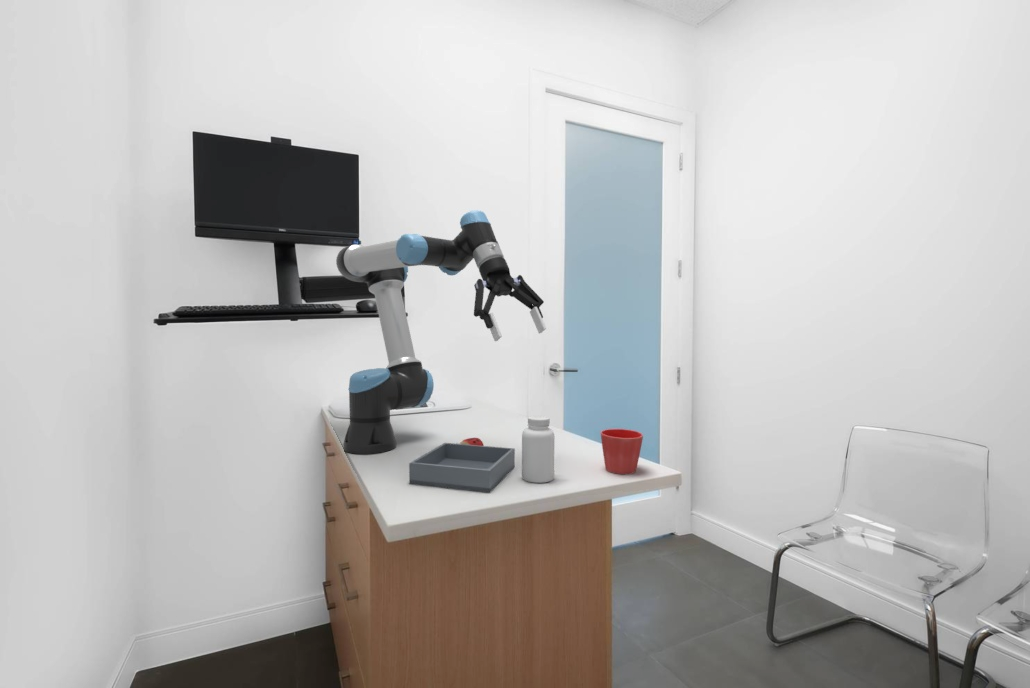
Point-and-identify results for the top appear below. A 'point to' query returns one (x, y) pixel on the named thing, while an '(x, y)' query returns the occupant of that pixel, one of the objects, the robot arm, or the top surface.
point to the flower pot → (621, 450)
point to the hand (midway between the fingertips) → (521, 334)
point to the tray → (462, 467)
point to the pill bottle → (538, 450)
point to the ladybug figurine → (472, 441)
